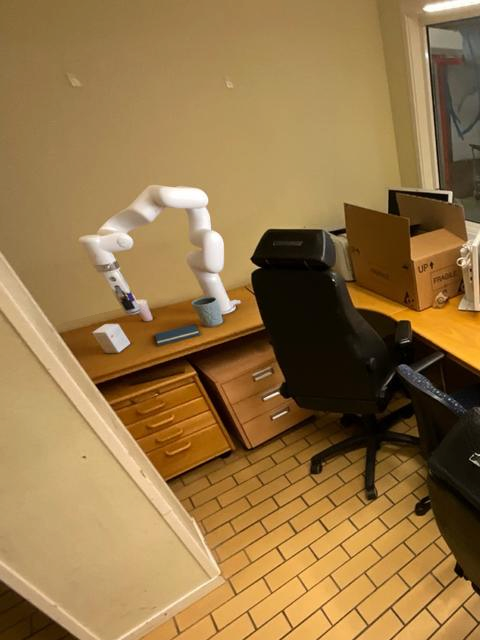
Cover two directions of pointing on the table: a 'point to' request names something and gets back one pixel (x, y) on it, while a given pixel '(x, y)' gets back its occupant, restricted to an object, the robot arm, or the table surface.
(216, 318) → the blue plant pot
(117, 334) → the small box
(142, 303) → the smoothie
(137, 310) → the energy drink
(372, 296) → the table surface
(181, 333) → the book
